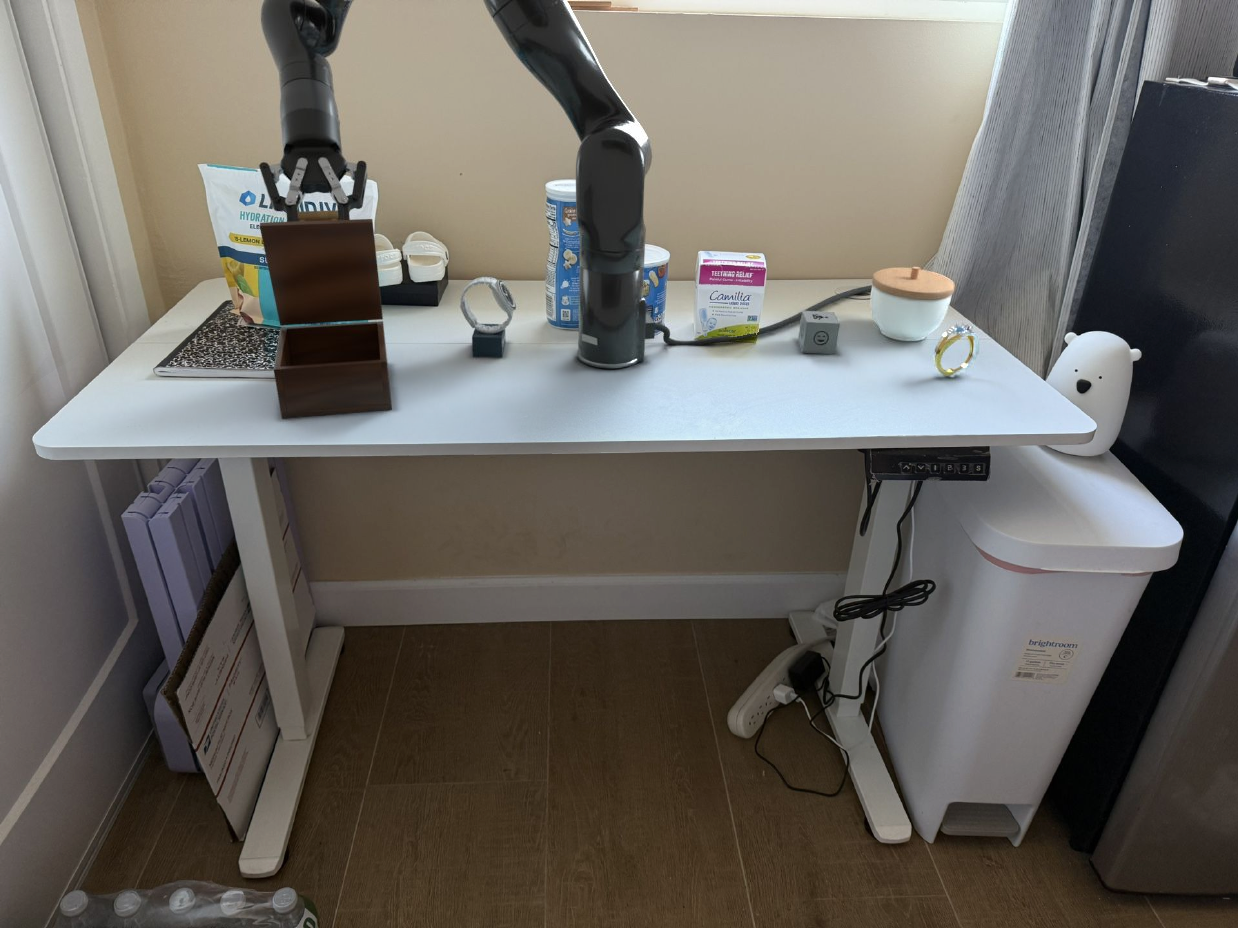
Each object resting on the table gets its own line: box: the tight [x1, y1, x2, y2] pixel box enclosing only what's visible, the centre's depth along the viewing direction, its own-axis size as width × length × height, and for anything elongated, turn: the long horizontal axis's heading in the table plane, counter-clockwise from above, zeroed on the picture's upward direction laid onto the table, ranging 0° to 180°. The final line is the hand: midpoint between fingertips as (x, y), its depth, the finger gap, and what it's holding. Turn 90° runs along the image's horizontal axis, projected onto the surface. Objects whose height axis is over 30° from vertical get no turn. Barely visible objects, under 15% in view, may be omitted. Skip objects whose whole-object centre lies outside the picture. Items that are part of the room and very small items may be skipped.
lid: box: [259, 209, 384, 326], centre depth 120 cm, size 15×14×6 cm
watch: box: [459, 276, 517, 358], centre depth 132 cm, size 6×8×11 cm
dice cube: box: [797, 310, 841, 355], centre depth 139 cm, size 5×5×5 cm
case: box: [273, 320, 393, 419], centre depth 120 cm, size 15×14×7 cm
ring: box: [932, 322, 980, 378], centre depth 130 cm, size 7×3×8 cm, turn 104°
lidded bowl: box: [869, 266, 956, 342], centre depth 144 cm, size 13×13×11 cm
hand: (320, 234), depth 117 cm, fingers closed on lid, 5 cm apart
